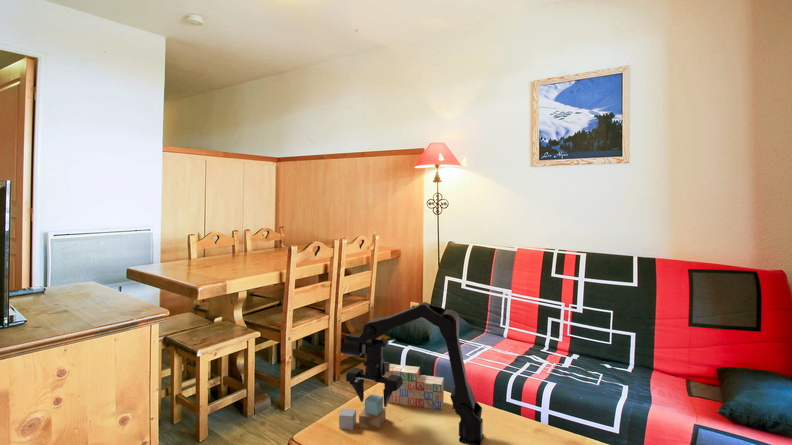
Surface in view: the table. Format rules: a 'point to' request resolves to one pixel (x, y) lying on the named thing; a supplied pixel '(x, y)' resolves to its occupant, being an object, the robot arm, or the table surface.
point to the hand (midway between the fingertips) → (373, 403)
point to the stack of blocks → (416, 388)
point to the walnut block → (372, 420)
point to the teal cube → (373, 404)
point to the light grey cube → (347, 419)
